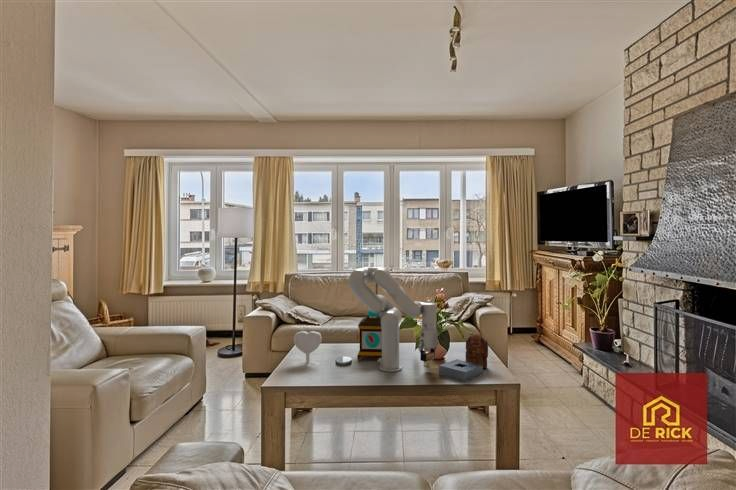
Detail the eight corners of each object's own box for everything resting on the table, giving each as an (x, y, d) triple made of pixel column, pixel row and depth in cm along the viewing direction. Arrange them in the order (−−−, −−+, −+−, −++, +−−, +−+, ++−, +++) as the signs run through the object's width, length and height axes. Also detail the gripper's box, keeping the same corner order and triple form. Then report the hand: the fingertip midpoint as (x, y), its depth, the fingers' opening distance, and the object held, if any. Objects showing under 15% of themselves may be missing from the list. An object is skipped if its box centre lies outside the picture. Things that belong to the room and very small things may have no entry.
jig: (439, 374, 219) (439, 365, 219) (456, 368, 230) (456, 359, 230) (465, 382, 207) (465, 372, 207) (482, 375, 218) (482, 365, 218)
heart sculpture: (293, 364, 238) (293, 332, 238) (295, 361, 243) (295, 330, 243) (320, 364, 237) (320, 332, 237) (322, 362, 242) (322, 330, 242)
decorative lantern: (391, 353, 261) (391, 305, 260) (389, 362, 241) (389, 310, 241) (359, 352, 263) (358, 304, 262) (354, 361, 243) (354, 309, 243)
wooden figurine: (465, 368, 229) (465, 335, 229) (465, 365, 235) (465, 333, 235) (488, 370, 227) (488, 336, 227) (487, 366, 233) (487, 334, 233)
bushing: (418, 366, 225) (418, 352, 225) (426, 363, 230) (426, 350, 229) (428, 369, 220) (428, 355, 220) (436, 366, 225) (436, 352, 225)
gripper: (424, 329, 216) (422, 364, 216) (444, 325, 228) (442, 358, 228) (412, 327, 221) (411, 360, 221) (433, 323, 233) (431, 355, 233)
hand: (427, 359), depth 225 cm, fingers closed on bushing, 6 cm apart
